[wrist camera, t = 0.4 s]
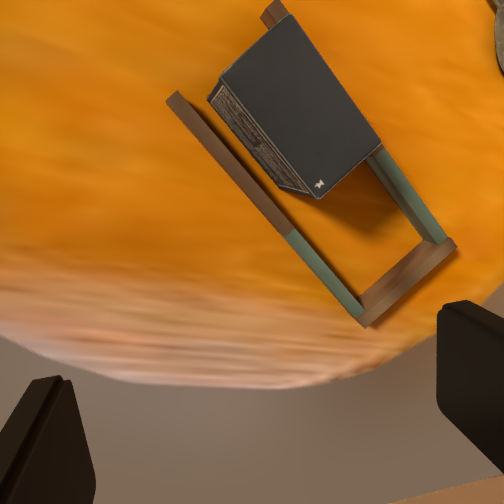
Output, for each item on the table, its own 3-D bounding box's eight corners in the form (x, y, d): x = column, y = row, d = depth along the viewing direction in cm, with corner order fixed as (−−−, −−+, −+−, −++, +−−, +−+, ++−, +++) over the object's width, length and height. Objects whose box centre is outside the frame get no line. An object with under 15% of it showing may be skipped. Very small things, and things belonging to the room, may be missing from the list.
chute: (270, 7, 35) (279, -5, 32) (438, 240, 43) (457, 246, 40) (166, 103, 35) (165, 99, 32) (352, 316, 43) (365, 328, 40)
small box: (333, 144, 38) (389, 142, 28) (280, 191, 39) (317, 206, 29) (260, 47, 35) (294, 6, 25) (203, 98, 36) (214, 78, 25)
